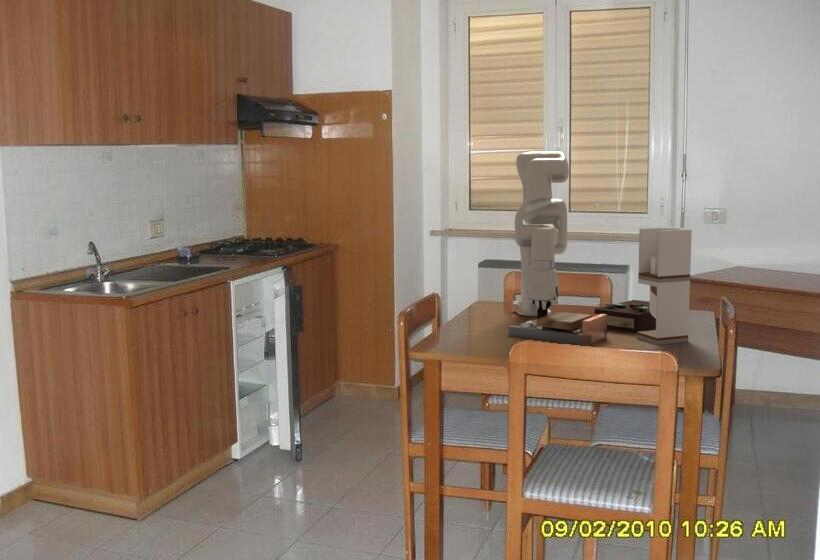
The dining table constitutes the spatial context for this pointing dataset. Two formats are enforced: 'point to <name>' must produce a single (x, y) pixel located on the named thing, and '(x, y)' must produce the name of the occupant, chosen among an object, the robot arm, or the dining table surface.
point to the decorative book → (628, 316)
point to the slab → (563, 320)
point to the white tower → (666, 281)
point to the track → (591, 332)
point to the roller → (575, 330)
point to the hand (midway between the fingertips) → (542, 320)
